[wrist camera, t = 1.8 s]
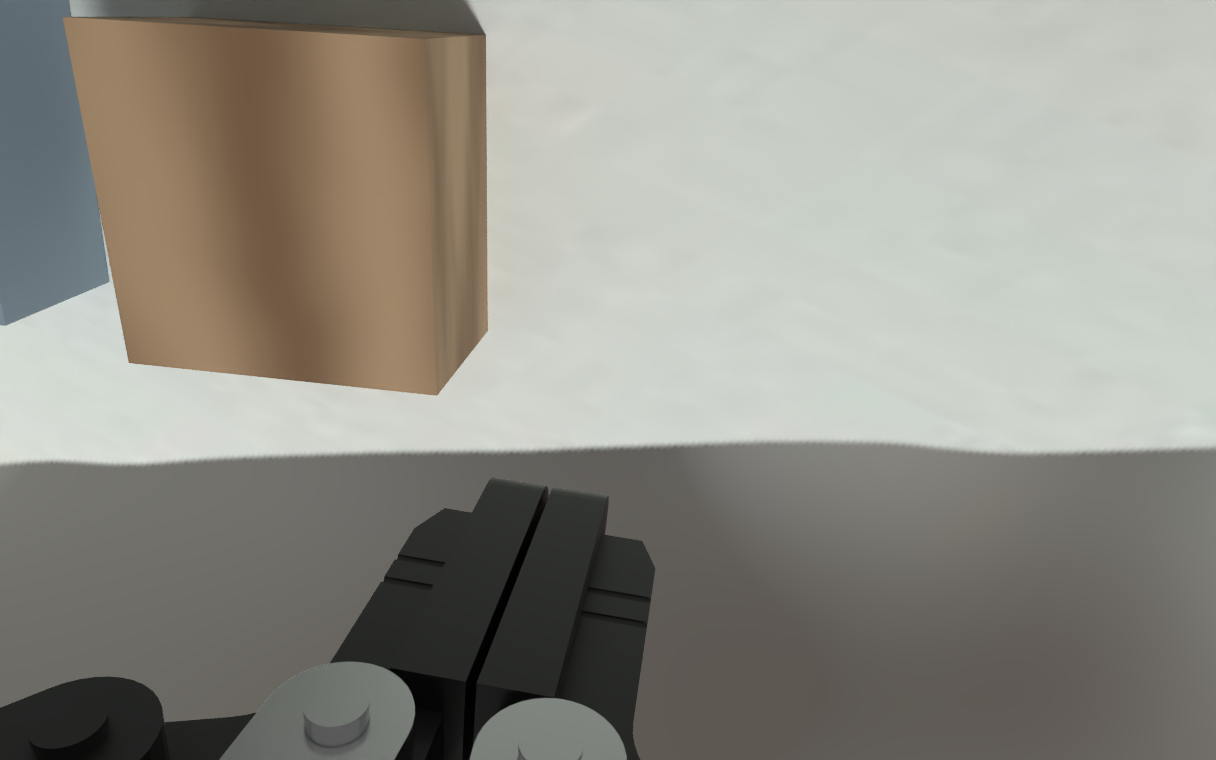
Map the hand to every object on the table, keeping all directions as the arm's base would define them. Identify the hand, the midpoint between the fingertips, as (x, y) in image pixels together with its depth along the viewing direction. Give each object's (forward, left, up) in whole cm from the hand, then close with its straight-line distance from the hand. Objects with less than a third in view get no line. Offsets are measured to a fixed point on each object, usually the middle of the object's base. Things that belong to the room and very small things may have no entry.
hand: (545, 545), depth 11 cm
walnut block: (-11, 0, -19) cm, 22 cm away
